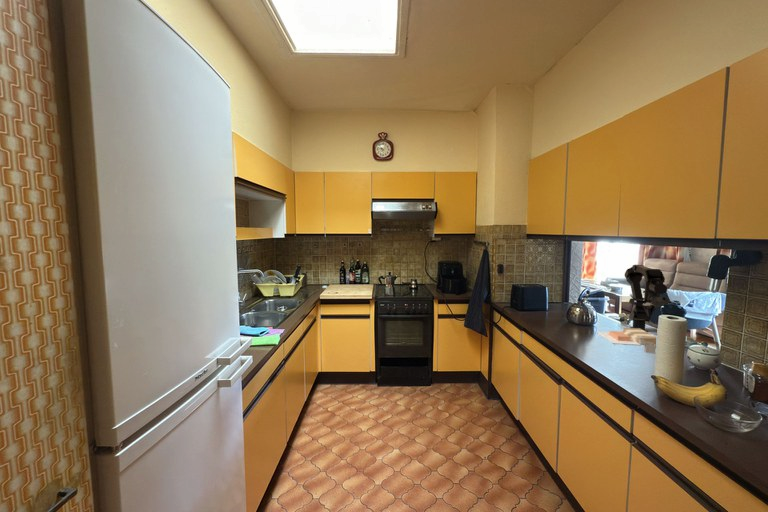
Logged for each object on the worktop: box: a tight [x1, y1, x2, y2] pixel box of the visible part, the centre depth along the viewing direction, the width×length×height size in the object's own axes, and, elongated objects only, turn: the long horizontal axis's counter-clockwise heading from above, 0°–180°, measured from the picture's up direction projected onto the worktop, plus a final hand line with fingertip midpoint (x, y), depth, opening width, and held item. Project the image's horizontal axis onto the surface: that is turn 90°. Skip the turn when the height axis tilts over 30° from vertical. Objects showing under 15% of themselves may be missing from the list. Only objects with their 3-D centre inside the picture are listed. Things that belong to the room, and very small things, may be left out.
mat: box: [596, 331, 641, 346], centre depth 171 cm, size 18×13×1 cm
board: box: [622, 327, 657, 346], centre depth 169 cm, size 16×9×4 cm, turn 169°
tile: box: [608, 330, 630, 341], centre depth 171 cm, size 9×6×2 cm, turn 169°
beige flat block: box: [638, 336, 657, 354], centre depth 152 cm, size 7×2×8 cm, turn 67°
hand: (649, 316), depth 172 cm, fingers closed
